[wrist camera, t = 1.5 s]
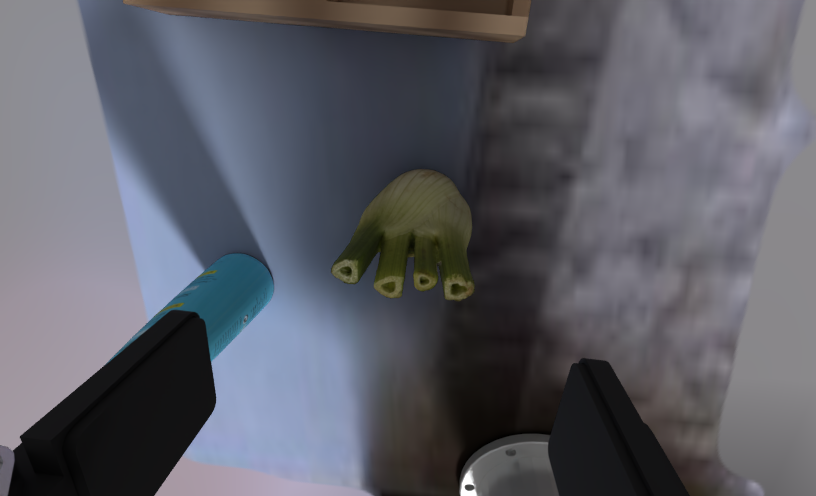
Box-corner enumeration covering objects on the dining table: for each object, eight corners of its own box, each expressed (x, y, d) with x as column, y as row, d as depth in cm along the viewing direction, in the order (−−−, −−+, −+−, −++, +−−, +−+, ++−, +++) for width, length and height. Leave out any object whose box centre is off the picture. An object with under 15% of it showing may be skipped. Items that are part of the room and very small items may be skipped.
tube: (247, 229, 29) (-75, 463, 11) (297, 274, 30) (77, 556, 12) (191, 289, 31) (-148, 560, 13) (239, 329, 32) (-16, 630, 14)
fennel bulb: (368, 204, 27) (314, 287, 16) (408, 143, 25) (378, 190, 14) (438, 250, 28) (432, 359, 17) (481, 194, 26) (506, 275, 15)
